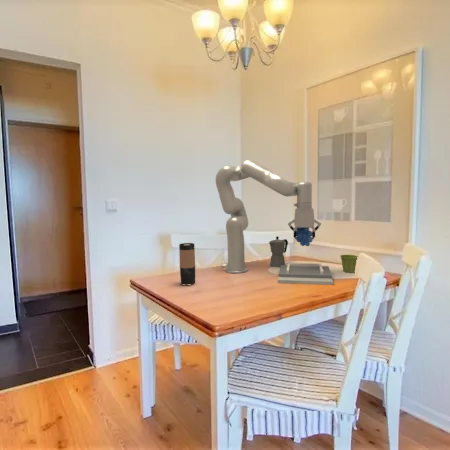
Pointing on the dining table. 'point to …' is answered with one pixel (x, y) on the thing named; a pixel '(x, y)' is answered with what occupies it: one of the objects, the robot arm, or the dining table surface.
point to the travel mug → (187, 263)
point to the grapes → (303, 236)
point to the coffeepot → (278, 252)
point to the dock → (305, 274)
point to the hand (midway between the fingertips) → (304, 238)
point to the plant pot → (348, 262)
